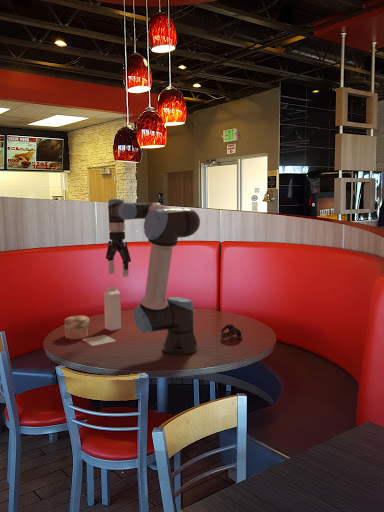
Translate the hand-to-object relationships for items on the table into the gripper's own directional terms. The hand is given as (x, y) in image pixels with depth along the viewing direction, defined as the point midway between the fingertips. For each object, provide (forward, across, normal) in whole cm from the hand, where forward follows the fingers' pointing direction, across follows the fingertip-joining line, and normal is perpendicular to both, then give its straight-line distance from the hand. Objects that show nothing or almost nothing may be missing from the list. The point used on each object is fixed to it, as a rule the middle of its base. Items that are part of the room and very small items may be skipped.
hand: (118, 275), depth 229 cm
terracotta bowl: (+29, +11, +18) cm, 36 cm away
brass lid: (+24, +10, +18) cm, 32 cm away
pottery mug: (+31, -39, -38) cm, 63 cm away
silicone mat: (+30, -2, +13) cm, 33 cm away
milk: (+30, +11, -2) cm, 32 cm away
